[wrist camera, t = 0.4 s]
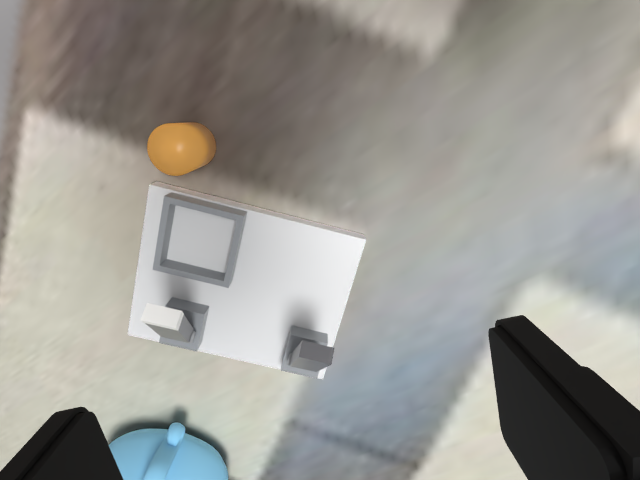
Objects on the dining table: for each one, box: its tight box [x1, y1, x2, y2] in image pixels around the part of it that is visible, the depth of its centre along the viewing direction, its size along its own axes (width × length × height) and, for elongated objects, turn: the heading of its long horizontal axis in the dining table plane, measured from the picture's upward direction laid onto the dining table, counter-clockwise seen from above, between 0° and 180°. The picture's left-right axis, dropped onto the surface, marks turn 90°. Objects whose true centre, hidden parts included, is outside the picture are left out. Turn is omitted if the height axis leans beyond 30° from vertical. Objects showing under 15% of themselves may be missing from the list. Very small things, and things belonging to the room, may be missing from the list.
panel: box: [128, 181, 366, 379], centre depth 43 cm, size 17×22×4 cm
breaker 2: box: [287, 340, 334, 372], centre depth 38 cm, size 1×3×9 cm
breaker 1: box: [141, 303, 196, 343], centre depth 37 cm, size 1×3×10 cm
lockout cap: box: [147, 122, 216, 176], centre depth 38 cm, size 4×4×6 cm
